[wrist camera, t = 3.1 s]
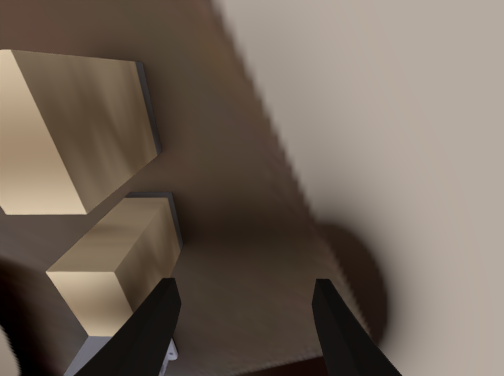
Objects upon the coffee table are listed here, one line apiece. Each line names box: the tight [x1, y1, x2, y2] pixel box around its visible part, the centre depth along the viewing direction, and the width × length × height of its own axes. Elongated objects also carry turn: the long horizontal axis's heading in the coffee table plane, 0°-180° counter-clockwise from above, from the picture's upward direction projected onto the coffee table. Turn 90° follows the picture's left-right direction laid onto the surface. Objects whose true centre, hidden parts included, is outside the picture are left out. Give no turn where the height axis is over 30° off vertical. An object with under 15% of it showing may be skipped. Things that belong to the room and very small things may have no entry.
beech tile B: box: [0, 50, 162, 214], centre depth 10 cm, size 5×3×7 cm, turn 1°
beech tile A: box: [46, 192, 183, 336], centre depth 13 cm, size 5×3×7 cm, turn 1°
